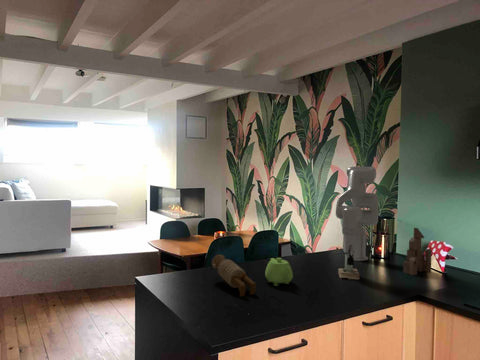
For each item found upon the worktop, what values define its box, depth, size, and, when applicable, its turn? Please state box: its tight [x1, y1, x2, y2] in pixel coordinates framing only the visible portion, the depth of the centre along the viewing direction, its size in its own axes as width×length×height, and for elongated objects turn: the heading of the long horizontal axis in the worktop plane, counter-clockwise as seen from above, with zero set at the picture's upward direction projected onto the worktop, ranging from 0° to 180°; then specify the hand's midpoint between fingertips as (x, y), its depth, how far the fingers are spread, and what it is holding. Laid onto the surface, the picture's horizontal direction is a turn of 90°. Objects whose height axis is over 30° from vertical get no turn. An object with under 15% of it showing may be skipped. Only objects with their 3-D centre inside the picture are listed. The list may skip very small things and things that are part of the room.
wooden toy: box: [402, 227, 432, 276], centre depth 222 cm, size 16×7×25 cm, turn 117°
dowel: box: [344, 253, 354, 272], centre depth 213 cm, size 4×4×12 cm
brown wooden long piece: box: [211, 254, 257, 298], centre depth 193 cm, size 10×12×30 cm
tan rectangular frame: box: [337, 267, 360, 280], centre depth 213 cm, size 10×10×3 cm
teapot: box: [264, 257, 294, 287], centre depth 201 cm, size 20×13×13 cm
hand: (348, 262), depth 214 cm, fingers open, 9 cm apart
